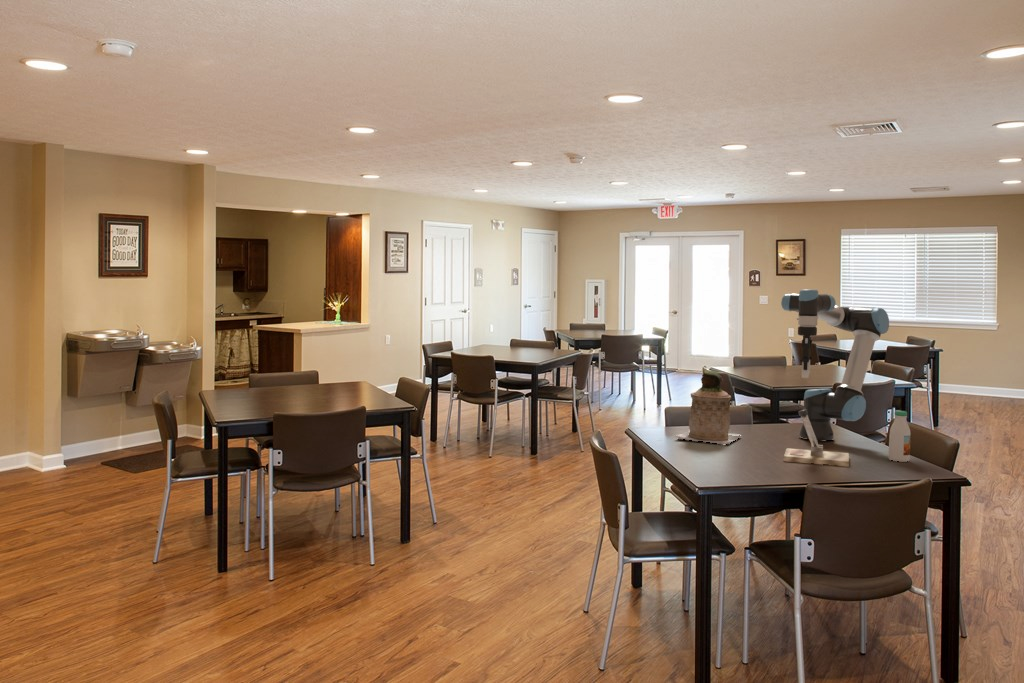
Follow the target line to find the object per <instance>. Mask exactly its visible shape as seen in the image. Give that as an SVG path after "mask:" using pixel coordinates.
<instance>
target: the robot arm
mask: <svg viewBox="0 0 1024 683" xmlns="http://www.w3.org/2000/svg"><path fill="white" fill-rule="evenodd" d="M780 302H781V307H782V309H783V310H784V311H786V312H787V311H788V312H796V313H798V317H797V318H796V321H798V324H797V325H798V327H797V335H798V336H803V338H802V339H801V349H802V359H800V363H801V379H802V378H803V379H810V378H809V376H810V375H811V374H810V371H811V360H812V359H813V358H812V357H811V350H812V344H813V340H812V337H814V336H815V337H816V336H817V335H818V334H817V333H818V328H817V326H818V320H820V321H823V322H826V323H827V325H828V326H831V327H834V328H837V329H839V330H843V331H846V332H852V334H853V336H854V340H853V343H852V346H851V350H850V353H849V356H848V359H847V363H846V367H845V370H844V374H843V376H842V379H841V384H840V385H837V387H836V388H835V391H834V392H833V390H832V388H814V389H812V388H811V389H810V388H809V389H806V390H805V392H804V394H803V395H804V396H803V410H804V409H807V412H808V413H807V415H808V418H809V420H810V423H811V426H812V428H813V431H814V434H815V436H816V439H817V440H832V439H834V440H835V435H834V431H833V428H832V424H831V419H835V420H841V421H845V422H856V421H858V420H859V419H861V418H862V417H863V415H864V414H865V412H866V409H867V401H866V399H865V397H864V393H863V391H862V388H863V384H864V381H865V378H866V374H867V370H868V368H869V364H870V360H871V356H872V353H873V350H874V346H875V343H876V342H877V341H879V340H880V339H881V335H884V334H886V333H887V332H888V331H889V329H890V328H889V327H890V318H889V315H888V312H887V311H886V310H885V309H884V308H881V307H876V306H871V307H869V306H868V307H866V306H839V305H836V304H837V302H836V298H835V297H834V296H832V294H827V293H826V294H825V293H820V294H819V290H818V289H800V290H799V293H786V294H784V295H783V296H782V298H781V301H780ZM799 436H801V437H803V438H807V439H809V437H808V434H807V432H806V429H805V426H804V424H803V423H802V424H801V427H800V428H799V432H798V437H799Z"/></svg>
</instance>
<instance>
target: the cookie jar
mask: <svg viewBox="0 0 1024 683" xmlns="http://www.w3.org/2000/svg"><path fill="white" fill-rule="evenodd" d="M701 371H702V374H701V375H702V377H701V378H700V381H701V384H702V385H701V387H700V388H698V389H697V390H696V391H695V392H691V393H690V398H691V406H690V412H689V416H688V428H689V429H688V430H687V431H686V432H684V433H680V434H676V435H675V437H676V439H677V438H679V440H683V439H685V441H689V440H692V441H691V442H698V441H703V442H702V443H706V442H710V443H709V444H712V443H717V444H716V445H718V444H727V445H731V444H732V443H734V442H733V441H735V440H728V439H729V436H728V435H732V436H739V435H740V436H742V435H741V434H738V433H729V430H730V427H731V414H730V407H731V406H730V402H731V400H732V396H731V395H730V394H728V393H729V392H727V391H724V390H723V389H722V388H721V384H723V383H724V379H723V376H721V375H720V373H719V372H717V371H715V370H706V369H704V368H703V369H701ZM687 432H689V435H688V434H685V433H687ZM731 442H732V443H731ZM735 442H736V441H735ZM730 443H731V444H730Z"/></svg>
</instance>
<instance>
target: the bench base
mask: <svg viewBox="0 0 1024 683" xmlns="http://www.w3.org/2000/svg"><path fill="white" fill-rule="evenodd" d="M810 445H811V444H810ZM849 454H850V453H849V452H837V451H828V450H827V451H825V450H824V445H823V444H819V447H812V445H811V446H810V449H802V448H790V447H789V448H786V449H785V452H784V455H783V461H784V462H787V463H788V462H790V463H801V464H811V463H814V465H823V464H829V465H828V466H834V465H838V467H848V468H849V467H850V456H849Z"/></svg>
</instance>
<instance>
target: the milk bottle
mask: <svg viewBox="0 0 1024 683" xmlns="http://www.w3.org/2000/svg"><path fill="white" fill-rule="evenodd" d="M907 418H908V412H907V411H906V410H894V420H893V422H892V425H891V426H890V430H889V438H888V456H887V457H888V460H889V461H891V460H893V461H892V462H897V461H899V463H906V462H907V461H908V462H910V458H911V429H910V426H909V424H908V421H907ZM908 462H907V463H908Z"/></svg>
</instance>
